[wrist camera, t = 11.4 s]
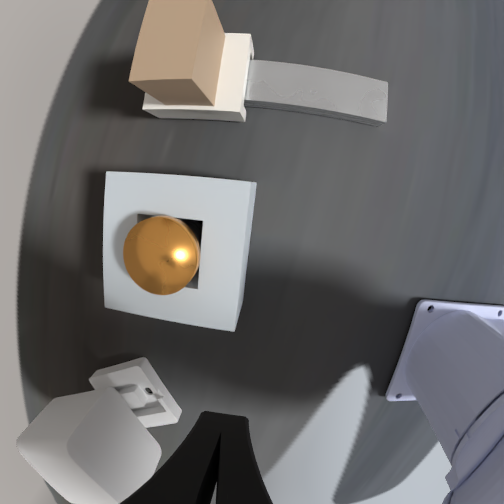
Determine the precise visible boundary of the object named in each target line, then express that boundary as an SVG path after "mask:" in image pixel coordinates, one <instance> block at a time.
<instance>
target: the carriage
mask: <svg viewBox="0 0 504 504" xmlns="http://www.w3.org/2000/svg"><path fill="white" fill-rule="evenodd" d="M253 57H254V49H253V44H252V38H251V34H239V33H224V31H223V28H222V26H221V23H220V20H219V18H218V15H217V12H216V10H215V7H214V4H213V2H212V0H149V2H148V6H147V9H146V12H145V16H144V19H143V23H142V26H141V30H140V34H139V38H138V41H137V45H136V50H135V54H134V58H133V63H132V67H131V72H130V77H129V82H130V83H132V84H133V85H135V86H137V87H138V88H140V89H141V90H143V91H144V92H145V97H144V103H143V110H145V111H147V112H149V113H150V114H152V115H154V116H156V117H158V118H178V119H207V120H224V121H238V122H245V118H246V110H245V108H244V98H245V90H246V83H247V75H248V68H249V61H250V60H253Z"/></svg>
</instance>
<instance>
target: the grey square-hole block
mask: <svg viewBox="0 0 504 504" xmlns="http://www.w3.org/2000/svg"><path fill="white" fill-rule="evenodd" d="M256 184H257V183H256V182H248V181H238V180H229V179H219V178H208V177H196V176H184V175H170V174H154V173H135V172H109V171H106V183H105V198H104V219H103V279H104V301H105V307H106V308H110V309H115V310H119V311H124V312H128V313H133V314H138V315H142V316H147V317H152V318H157V319H162V320H167V321H173V322H178V323H184V324H189V325H195V326H201V327H207V328H213V329H219V330H226V331H233V332H235V328H236V325H237V321H238V317H239V314H240V310H241V307H242V303H243V296H244V288H245V279H246V270H247V261H248V253H249V244H250V236H251V227H252V218H253V210H254V201H255V193H256ZM161 215H163V216H171V217H174V218H183V219H192V220H201V221H203V228H202V240H201V252H200V265H199V267H198V270H197V272H196V274H195V275H194V277H193V278H192V279H191V280H190V282H189V283H188V284H187V285H186V286H185V287H184V288H183V289H181V290H180V291H178V292H176V293H173V294H170V295H156V294H152V293H149V292H147V291H145V290H143V289H142V288H141V287H139V286H138V285H137V284H136V283H135V282H134V281H133V280H132V278H131V277H130V275H129V274H128V272H127V269H126V267H125V264H124V259H123V247H124V242H125V239H126V237H127V235H128V233H129V232H130V230H131V229H132V228H133V227H134V226H135V225H136V224H137V223H139V222H141V221H143V220H145V219H148V218H151V217H155V216H161Z"/></svg>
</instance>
